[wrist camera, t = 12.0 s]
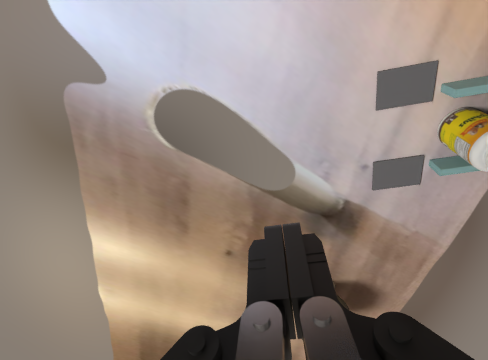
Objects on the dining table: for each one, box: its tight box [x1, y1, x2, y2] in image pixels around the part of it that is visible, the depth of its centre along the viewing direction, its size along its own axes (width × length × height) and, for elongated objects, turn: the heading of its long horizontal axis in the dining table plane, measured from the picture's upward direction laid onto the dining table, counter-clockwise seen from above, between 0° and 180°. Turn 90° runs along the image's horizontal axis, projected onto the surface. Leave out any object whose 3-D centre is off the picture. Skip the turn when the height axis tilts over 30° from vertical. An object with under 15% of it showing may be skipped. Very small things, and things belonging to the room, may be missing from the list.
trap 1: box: [372, 155, 424, 190], centre depth 43 cm, size 5×7×1 cm
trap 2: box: [376, 61, 438, 110], centre depth 36 cm, size 5×7×1 cm
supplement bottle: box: [438, 108, 488, 172], centre depth 35 cm, size 6×6×10 cm
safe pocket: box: [429, 76, 488, 176], centre depth 37 cm, size 12×8×3 cm, turn 11°
